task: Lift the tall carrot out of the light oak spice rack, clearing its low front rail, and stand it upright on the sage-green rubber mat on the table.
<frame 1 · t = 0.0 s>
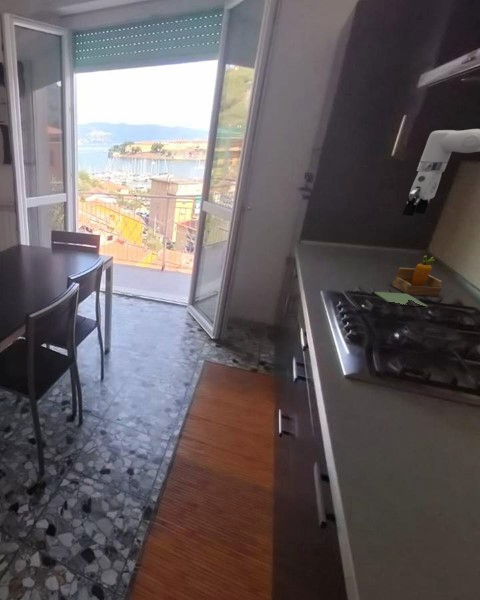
hand: (413, 214, 138), 31 cm above the worktop, tool pointing down, fingers open, 9 cm apart
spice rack: (414, 290, 147), on the worktop
carrot: (414, 291, 147), resting in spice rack
mat: (399, 299, 138), on the worktop
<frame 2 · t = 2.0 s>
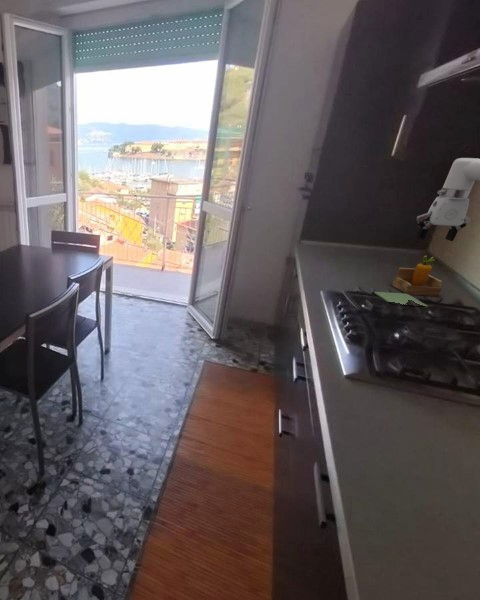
hand: (434, 239, 138), 22 cm above the worktop, tool pointing down, fingers open, 9 cm apart
nothing on the worktop moved.
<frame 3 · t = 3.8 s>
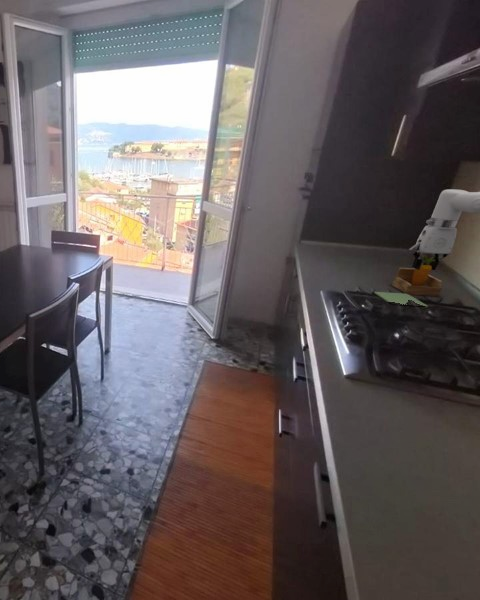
hand: (423, 268, 143), 10 cm above the worktop, tool pointing down, fingers closed on carrot, 4 cm apart
carrot: (414, 291, 147), resting in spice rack, touching gripper
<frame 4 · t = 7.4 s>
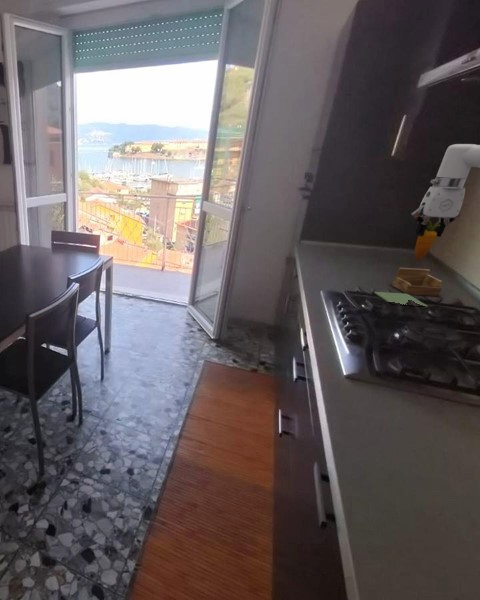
hand: (427, 234, 129), 25 cm above the worktop, tool pointing down, fingers closed on carrot, 4 cm apart
carrot: (417, 261, 133), point 15 cm above the worktop, touching gripper
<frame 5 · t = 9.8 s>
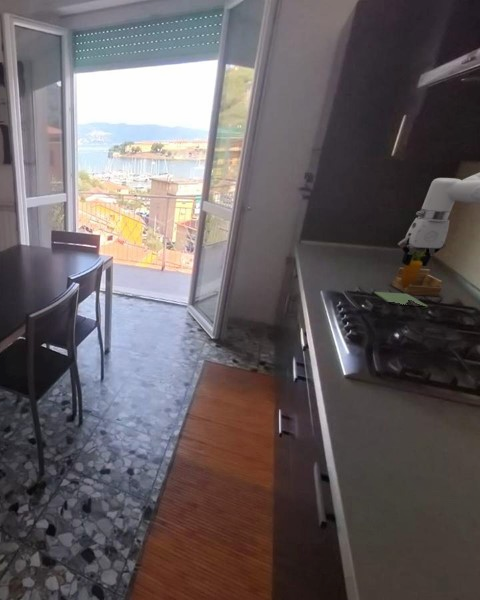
hand: (413, 264, 132), 15 cm above the worktop, tool pointing down, fingers closed on carrot, 4 cm apart
carrot: (403, 288, 136), point 5 cm above the worktop, touching gripper
when the fingers open (10 cm above the worktop, at t = 11.3 s): carrot stays where it is, resting on mat.
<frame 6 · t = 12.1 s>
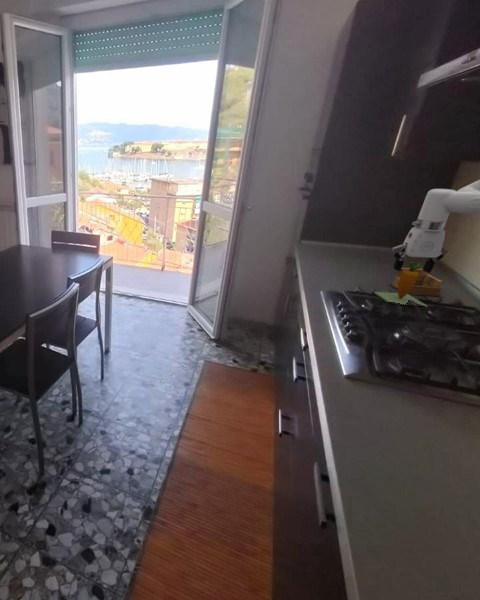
hand: (411, 270, 133), 12 cm above the worktop, tool pointing down, fingers open, 9 cm apart
carrot: (400, 298, 138), resting on mat
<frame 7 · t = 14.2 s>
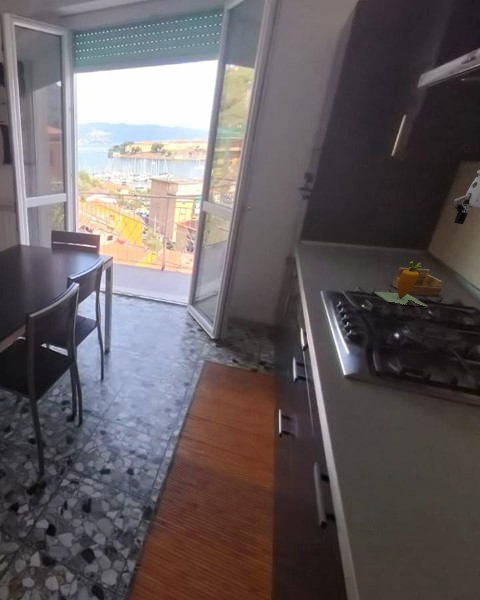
hand: (474, 223, 127), 29 cm above the worktop, tool pointing down, fingers open, 9 cm apart
nothing on the worktop moved.
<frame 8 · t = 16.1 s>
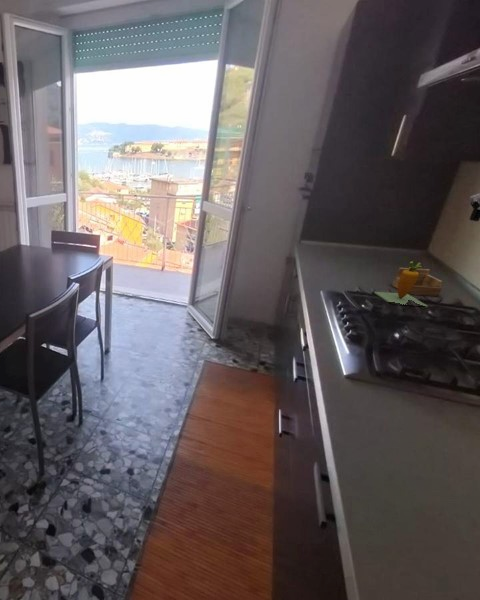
nothing on the worktop moved.
at the end: carrot inside the target area (0.1 cm from its centre), resting on mat; carrot tilted 0°; the gripper is holding nothing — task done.
